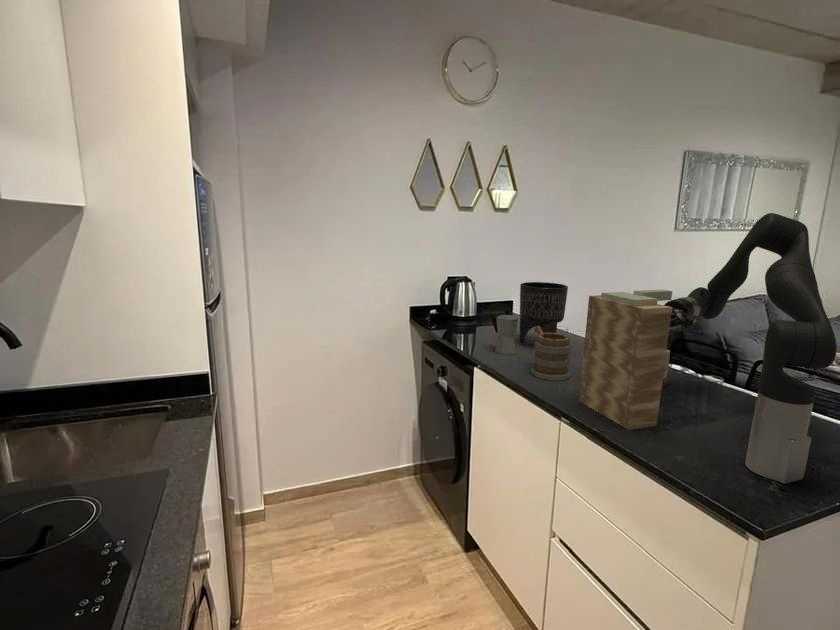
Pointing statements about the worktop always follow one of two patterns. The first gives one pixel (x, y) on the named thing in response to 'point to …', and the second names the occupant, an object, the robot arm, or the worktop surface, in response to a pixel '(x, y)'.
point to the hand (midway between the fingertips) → (654, 319)
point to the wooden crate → (624, 361)
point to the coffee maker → (505, 332)
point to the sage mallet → (639, 297)
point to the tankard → (551, 356)
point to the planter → (541, 306)
